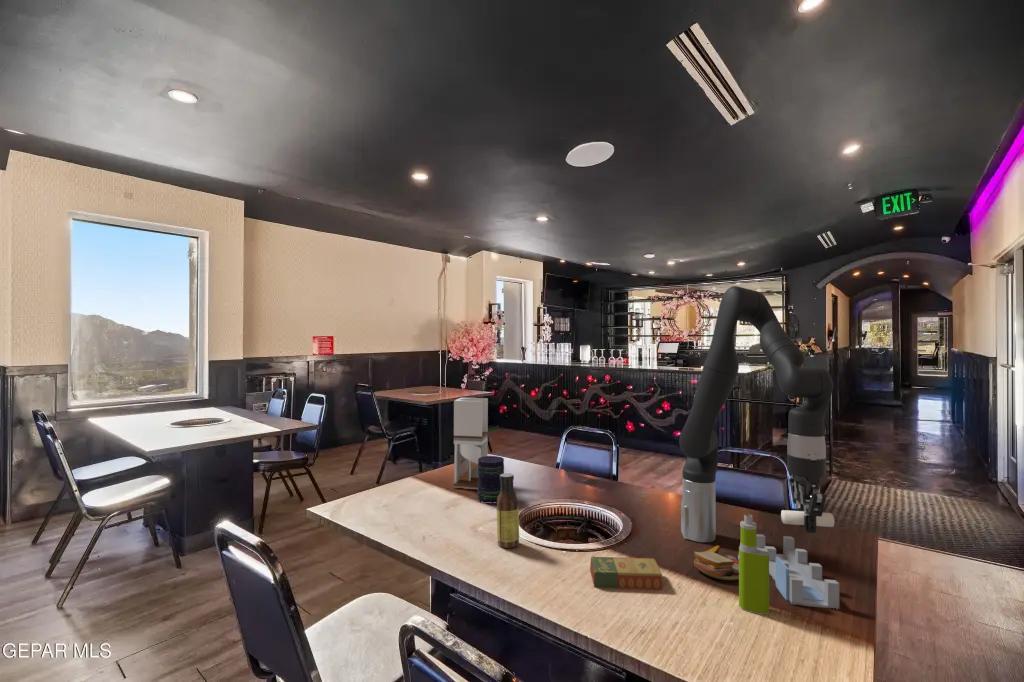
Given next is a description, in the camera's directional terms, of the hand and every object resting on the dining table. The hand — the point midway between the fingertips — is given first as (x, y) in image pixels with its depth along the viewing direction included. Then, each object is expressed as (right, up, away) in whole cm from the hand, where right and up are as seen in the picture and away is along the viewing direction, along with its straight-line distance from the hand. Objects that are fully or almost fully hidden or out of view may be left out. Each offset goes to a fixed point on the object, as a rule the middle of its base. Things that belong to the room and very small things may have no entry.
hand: (806, 528), depth 107 cm
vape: (-15, -15, -5) cm, 22 cm away
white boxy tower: (-85, -16, +82) cm, 119 cm away
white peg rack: (+1, -15, +8) cm, 17 cm away
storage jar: (-76, -16, +65) cm, 101 cm away
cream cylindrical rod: (0, +1, 0) cm, 1 cm away
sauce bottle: (-69, -15, +26) cm, 75 cm away
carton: (-40, -16, +6) cm, 44 cm away
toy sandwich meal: (-15, -16, +12) cm, 25 cm away
